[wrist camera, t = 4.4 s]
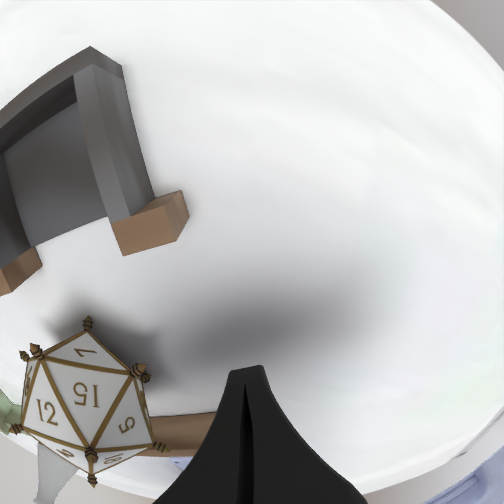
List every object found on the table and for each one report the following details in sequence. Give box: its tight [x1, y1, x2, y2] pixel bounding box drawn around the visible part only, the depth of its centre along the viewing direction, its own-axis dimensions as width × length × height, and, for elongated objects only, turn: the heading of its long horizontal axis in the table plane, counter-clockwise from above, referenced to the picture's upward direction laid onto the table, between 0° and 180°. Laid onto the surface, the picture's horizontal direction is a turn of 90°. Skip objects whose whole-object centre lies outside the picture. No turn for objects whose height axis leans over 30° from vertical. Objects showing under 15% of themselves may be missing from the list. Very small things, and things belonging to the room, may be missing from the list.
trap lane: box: [0, 46, 216, 457], centre depth 11 cm, size 22×29×4 cm
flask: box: [33, 443, 79, 504], centre depth 17 cm, size 7×7×10 cm
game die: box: [8, 316, 171, 488], centre depth 10 cm, size 9×8×10 cm
